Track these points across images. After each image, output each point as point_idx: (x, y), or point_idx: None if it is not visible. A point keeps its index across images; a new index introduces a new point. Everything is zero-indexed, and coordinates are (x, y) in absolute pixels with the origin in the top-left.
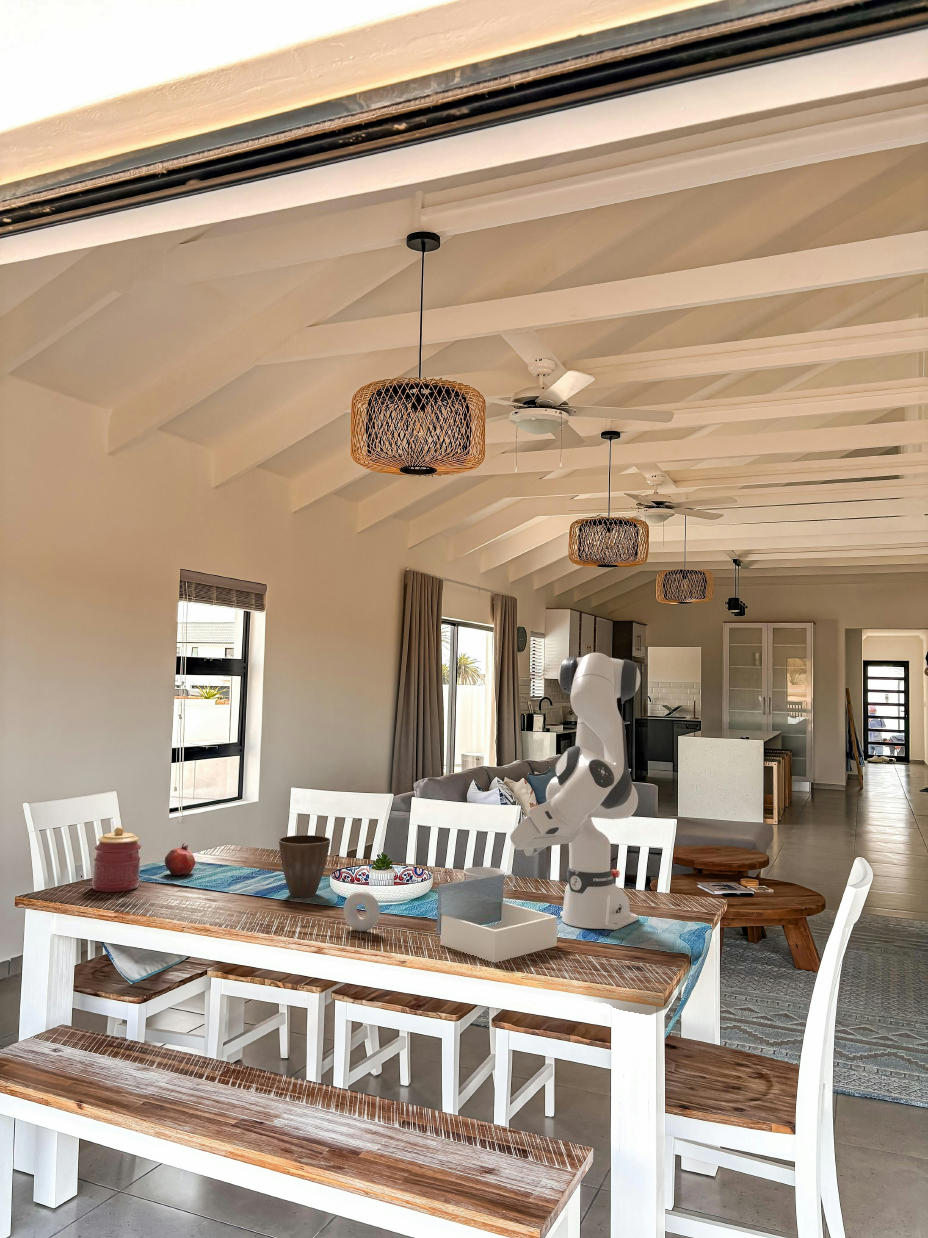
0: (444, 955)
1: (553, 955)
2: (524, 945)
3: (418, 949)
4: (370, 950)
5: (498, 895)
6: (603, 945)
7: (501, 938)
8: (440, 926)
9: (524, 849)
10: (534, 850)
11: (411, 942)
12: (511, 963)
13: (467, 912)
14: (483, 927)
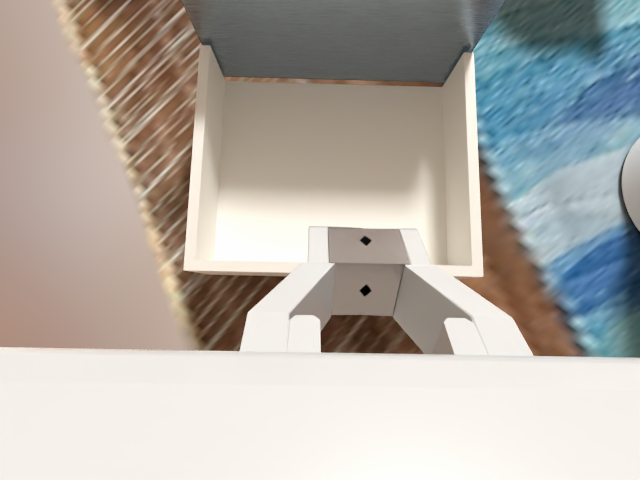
0: (167, 156)
1: (379, 327)
2: None
3: (156, 86)
4: (68, 26)
5: (460, 31)
6: (559, 356)
7: (220, 272)
8: None
9: (309, 230)
10: (366, 304)
11: (185, 37)
12: (243, 302)
13: (314, 51)
14: (189, 217)
